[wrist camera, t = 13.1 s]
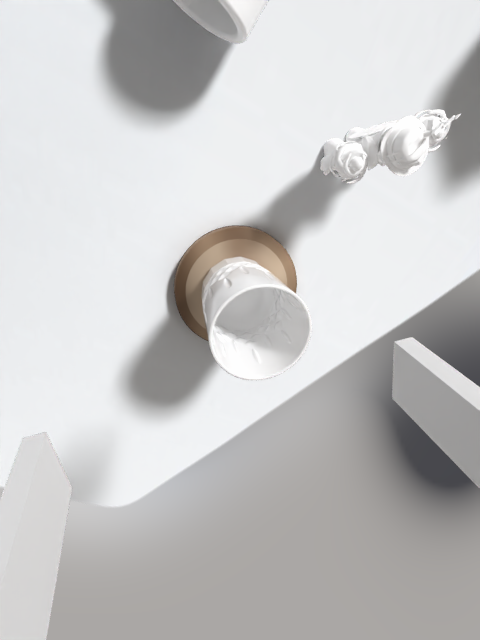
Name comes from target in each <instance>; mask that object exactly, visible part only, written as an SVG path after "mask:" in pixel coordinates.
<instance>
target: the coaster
mask: <svg viewBox="0 0 480 640" xmlns="http://www.w3.org/2000/svg"><path fill="white" fill-rule="evenodd" d="M240 256H241V257H244V258H247V259H250V260H254V261H256V262H257V263H258V264H259V265H260V266H261V267H263V268H265V269H267V270H268V271H269V272H271V273H272V274H273V275H275V276H276V277H277V278H278V279H279V280H280V281H282V282H283V283H284V284H285V285H286V286H287V287H289V288H290V289H291V290H292V291H293V292H294V293H296V287H297V278H296V271H295V267H294V264H293V262H292V260H291V257H290V256H289V254H288V253H287V251H286V250H285V248H284V247H283V246H282V245H281V244H280V243H279V242H278V241H276V240H275V239H274V238H273V237H271V236H270V235H268V234H267V233H265V232H263V231H261V230H259V229H256V228H252V227H248V226H226V227H222V228H218V229H215V230H213V231H211V232H208V233H207V234H205V235H203V236H202V237H200V238H199V239H198V240H196V241H195V242H194V243H193V244H192V245H191V246H190V247H189V248H188V250H187V251H186V252H185V254H184V255H183V257H182V259H181V260H180V263H179V265H178V268H177V271H176V275H175V281H174V293H175V299H176V304H177V308H178V311H179V313H180V315H181V317H182V319H183V320H184V322H185V323H186V325H187V326H188V327H189V328H190V329H191V330H192V331H193V332H194V333H196V334H197V335H198V336H200V337H201V338H203V339H205V340H207V341H209V340H208V335H207V330H206V325H205V320H204V313H203V304H202V298H201V295H202V284H203V280H204V279H205V277H206V275H207V274H208V272H209V270H210V269H211V268H212V267H213V266H215V265H216V264H218V263H219V262H221V261H222V260H224V259H227V258H234V257H240Z"/></svg>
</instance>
